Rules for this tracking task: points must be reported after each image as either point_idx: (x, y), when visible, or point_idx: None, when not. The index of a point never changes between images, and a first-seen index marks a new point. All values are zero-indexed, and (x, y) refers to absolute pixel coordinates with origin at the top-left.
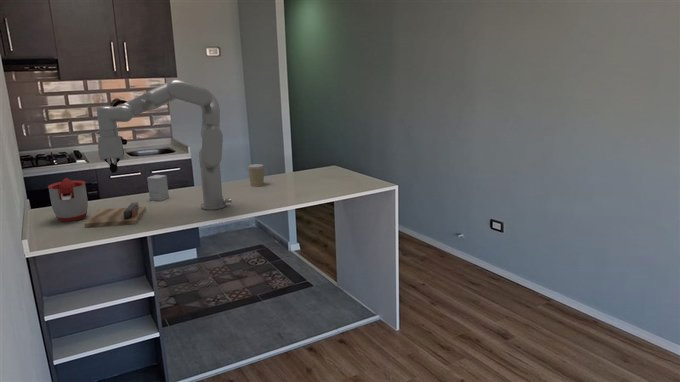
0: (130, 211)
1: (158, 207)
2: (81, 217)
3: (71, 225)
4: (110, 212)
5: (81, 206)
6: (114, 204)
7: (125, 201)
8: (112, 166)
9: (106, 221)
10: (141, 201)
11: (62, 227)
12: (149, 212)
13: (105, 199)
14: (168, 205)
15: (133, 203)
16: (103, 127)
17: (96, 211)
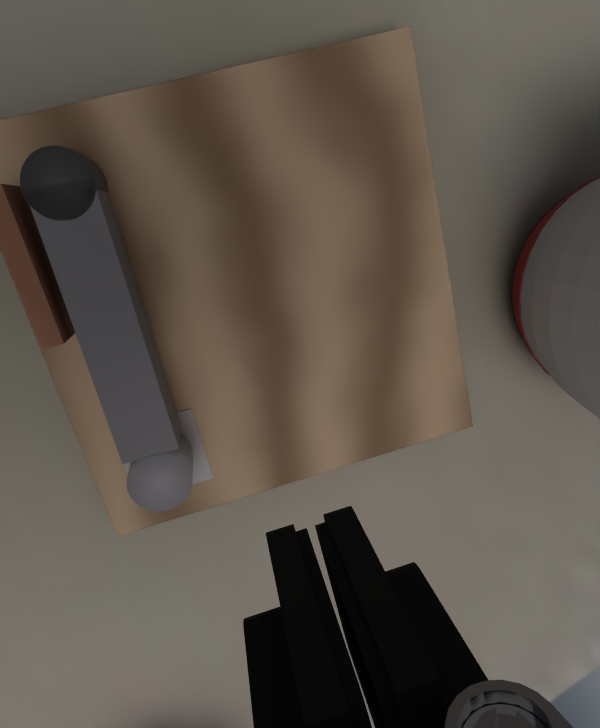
0: (31, 205)
1: (59, 597)
2: (523, 251)
3: (530, 106)
4: (336, 354)
5: (568, 248)
6: None
7: None
8: (360, 653)
9: (233, 85)
10: None
11: (576, 53)
12: (58, 470)
13: (553, 698)
14: (2, 653)
15: (159, 464)
16: None
17: (464, 373)
